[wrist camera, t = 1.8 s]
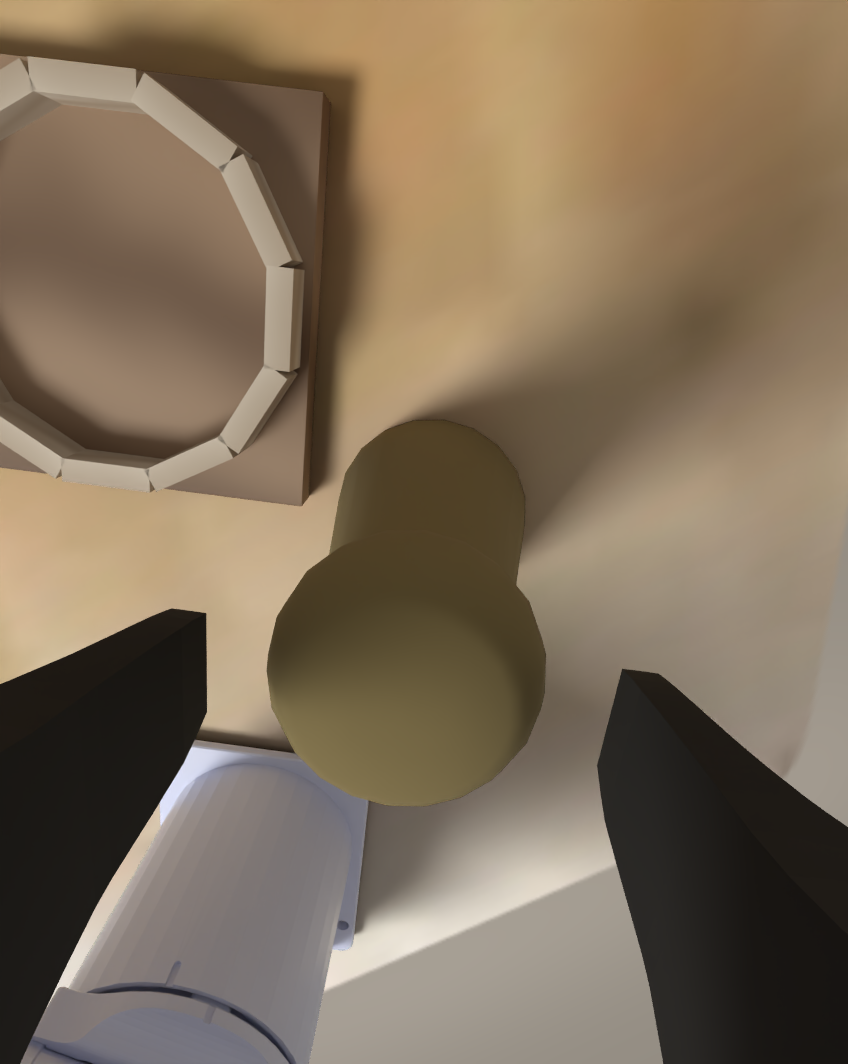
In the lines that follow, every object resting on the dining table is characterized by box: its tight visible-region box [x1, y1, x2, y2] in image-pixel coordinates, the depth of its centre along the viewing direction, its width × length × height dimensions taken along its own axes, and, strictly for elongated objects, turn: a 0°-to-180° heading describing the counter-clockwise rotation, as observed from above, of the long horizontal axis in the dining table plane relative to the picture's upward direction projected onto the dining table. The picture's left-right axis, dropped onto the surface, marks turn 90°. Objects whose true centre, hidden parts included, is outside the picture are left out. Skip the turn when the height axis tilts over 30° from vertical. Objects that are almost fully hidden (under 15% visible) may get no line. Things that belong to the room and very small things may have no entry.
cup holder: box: [0, 54, 331, 506], centre depth 18 cm, size 11×11×2 cm
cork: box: [267, 420, 546, 806], centre depth 16 cm, size 6×6×11 cm
